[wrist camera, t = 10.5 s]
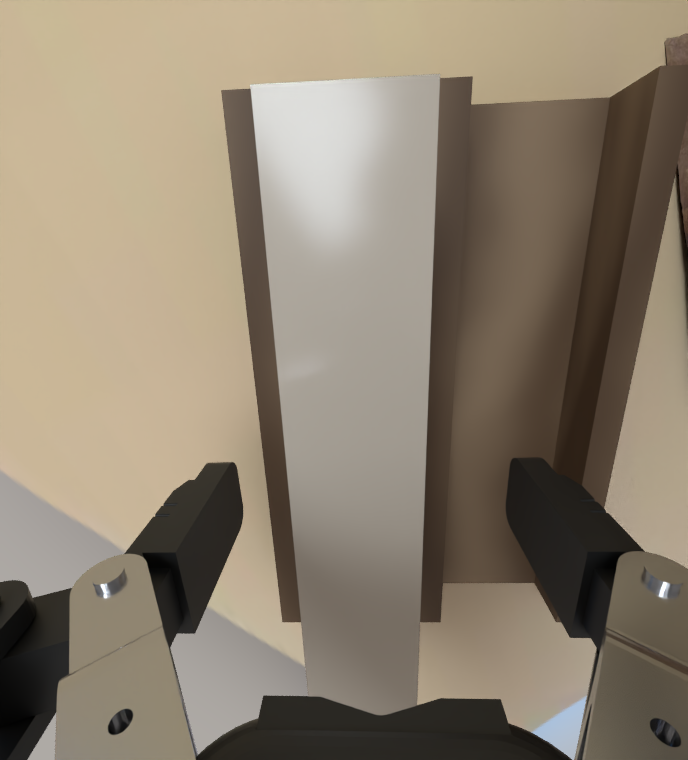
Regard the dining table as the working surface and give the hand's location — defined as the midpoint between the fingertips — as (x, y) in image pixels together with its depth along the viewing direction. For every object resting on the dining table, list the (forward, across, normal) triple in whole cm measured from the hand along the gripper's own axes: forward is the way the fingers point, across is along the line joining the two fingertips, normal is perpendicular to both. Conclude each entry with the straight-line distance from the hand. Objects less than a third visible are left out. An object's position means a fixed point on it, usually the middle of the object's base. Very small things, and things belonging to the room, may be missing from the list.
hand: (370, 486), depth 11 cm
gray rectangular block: (+8, 0, 0) cm, 8 cm away
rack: (+9, -3, 0) cm, 9 cm away
